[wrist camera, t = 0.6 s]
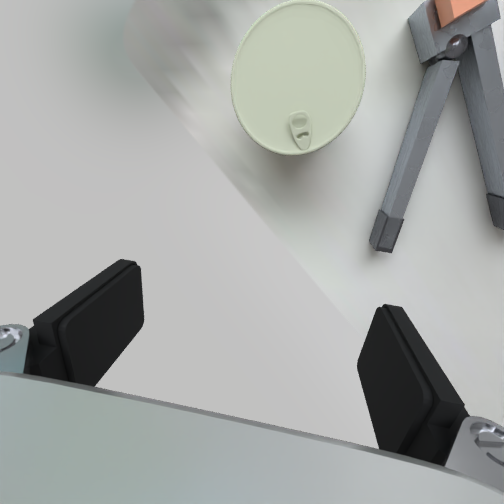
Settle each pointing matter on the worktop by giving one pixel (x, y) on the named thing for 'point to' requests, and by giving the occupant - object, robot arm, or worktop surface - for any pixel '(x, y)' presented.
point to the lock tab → (454, 9)
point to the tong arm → (412, 153)
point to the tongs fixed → (472, 82)
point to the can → (298, 77)
